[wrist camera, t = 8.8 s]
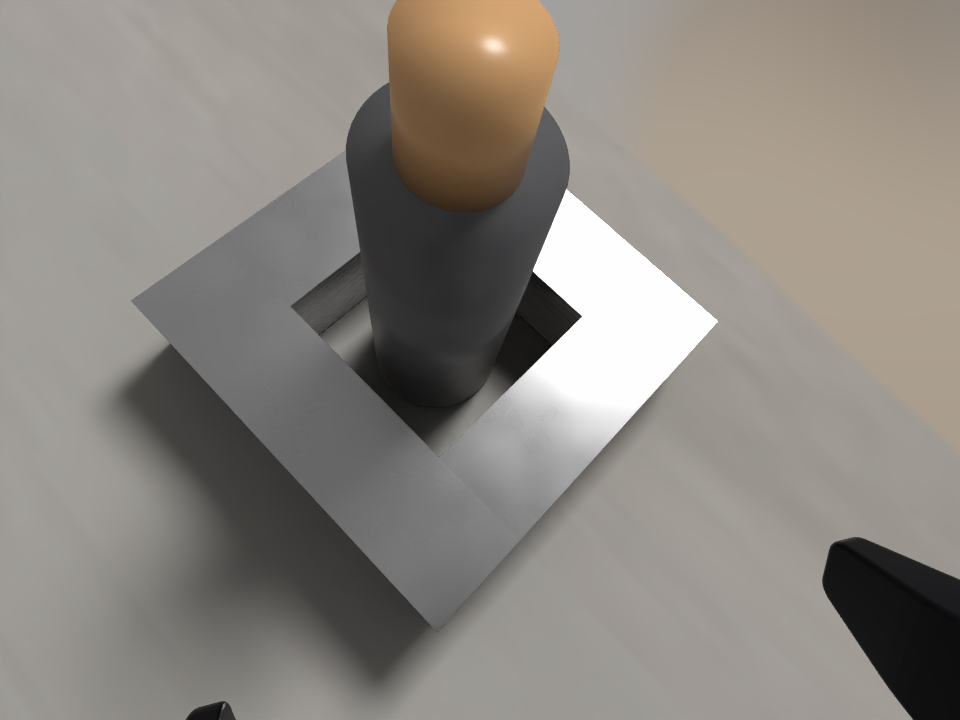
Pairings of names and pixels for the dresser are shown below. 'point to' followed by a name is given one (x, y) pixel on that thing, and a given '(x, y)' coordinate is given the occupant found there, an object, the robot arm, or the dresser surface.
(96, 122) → the dresser surface
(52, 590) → the dresser surface
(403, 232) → the plug
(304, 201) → the socket plate
